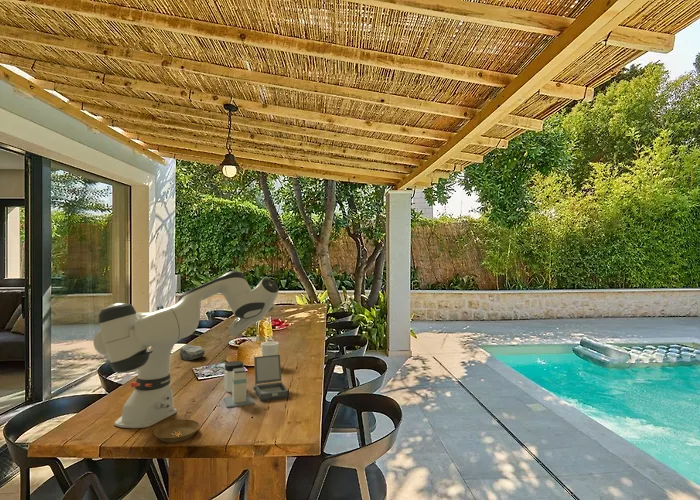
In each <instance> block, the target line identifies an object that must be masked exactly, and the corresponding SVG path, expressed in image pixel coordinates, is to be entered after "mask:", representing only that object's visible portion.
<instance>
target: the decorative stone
mask: <svg viewBox="0 0 700 500" xmlns="http://www.w3.org/2000/svg"><path fill="white" fill-rule="evenodd" d="M205 353H206V351H205V349H204V348H203V347H202V346H200V345H192V344H185V345H183V346H181V348H180V349H179V356H180V359H181V360H184V361H193V360H195V359H199V358H202V357H203V356H204V355H205Z"/></svg>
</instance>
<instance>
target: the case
mask: <svg viewBox="0 0 700 500" xmlns="http://www.w3.org/2000/svg"><path fill="white" fill-rule="evenodd" d="M252 389H253V390H255V394H256V396H257V398H258V400H259V402H267V401H274V400H280V399H289V393H290V392H289V389H288V388H287V387H286V386H285V384H284V383H283V382H282V381H277V382H269V383H261V384H255V383H254V385H252Z"/></svg>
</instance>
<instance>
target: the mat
mask: <svg viewBox="0 0 700 500" xmlns="http://www.w3.org/2000/svg"><path fill="white" fill-rule="evenodd" d="M223 400H224V402H225V405H226V408H228V409H229V408H237V407H243V406H244V407H245V406H250V405H251V406H253V405H256V403H255V400H254V399H253V397H252V395H251V394H249V393H248V394H247V393H246V401H244V402H237V403H234V402H233V400H232V395H231V396H224V397H223Z"/></svg>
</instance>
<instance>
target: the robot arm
mask: <svg viewBox="0 0 700 500" xmlns="http://www.w3.org/2000/svg"><path fill="white" fill-rule="evenodd" d="M217 294H221V295H222V296H223V297H224V298H225V300H226V302H227V304H228V306H229V308H230V310H231V311H232V313H233V314H234V316H235V317H236V318H235V319H234V320H233V321H232V322H231V324H230V325H229V327H228V328H227V332H228V333H229V334H230V336H232V337H236V336H238V335H240V333H241V332H243V331H244V330H245V329H248V328H249V327H250V326H253V325H255V324H256V323H257V322H259V321H262V320H263V319H264V318H265V316H267V315H268V314H269V313H270V312H271V311H272V310H273V309H274V308H275V307H276V305H275V301H276V299H277V297H278V294H279V286H278V284H277V283H276V282H275V281H274V280H273V279H270V278H267V277H263V278H262V279H261V280H259V282H258V283H257V285H256V286H255V287H254V288H253V289H252V288H251V286H250V285H249V283H248V281H247V279H246V276H245V274H244V273H243V272H241V271H238V270H237V271H236V270H231V271H228V272H226V273H223V274H222V275H221V276H219V277H217V278H214V279H213V280H210V281H208V282H205V283H203V284H200V285H199V286H197V287H194V288H192V289H190V290H188V291H186V292H184V293H183V294H182V295H180V296H179V297H178V299H177V302H176V303H175V304H173V305H171V306H168V307H164V308H161V309H158V310H155V311H153V312H151V311H149V312H148V311H139V312H137V311H136V309H135V307H134V306H133V304H130V303H128V302H127V303H125V302H116V303H112V304H109V305H108V306H106V307H105V308H103V309H101V310H100V312H99V314H98V324H99V325H100V329H99V330H98V331H97V332H96V334H95V335H94V337H93V347H94V350H96V352H97V353H99V354H100V355H101V356H102V355H103V356H107V357H108V360H109V362H110V363H109V365H110V367H111V369H112V370H113V372H114V373H116V374H129V373H130V374H131V373H133V372H136V371H137V377H136V380H135V381H131V382H130V384H129V385H130V388H134V390H133V392H132V393H131V394H130V396H129V398H127V401H126V402H125V403H124V405H123V406H122V410H121V411H122V412H121V416H120V417H118V418H117V419H116V420H115V421H114V424H113V425H114V426H116V427H119V428H125V429H126V428H127V429H140V428H141V429H143V428H149V427H151V426H153V425H155V424H157V423H158V422H161V421H162V420H164V419H167V418H168V417H170V416H172V415H174V414H176V413H177V412H178V411H177V408H175V404H174V391H173V389H172V388H171V386H170V384H171V373H170V358H171V352H172V350H173V348H174V346H175V345H176V344H177V343H178V341H180V340H182V339H184V338H187V337H189V336H191V335H192V334H193V333H194V332H195V331H196V330H197V328H198V326H199V323H200V317H201V311H200V310H201V309H200V303H201V302H202V301H204V300H206V299H208V298H210V297H212V296H215V295H217ZM149 347H150V348H149ZM148 348H149V349H148Z"/></svg>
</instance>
